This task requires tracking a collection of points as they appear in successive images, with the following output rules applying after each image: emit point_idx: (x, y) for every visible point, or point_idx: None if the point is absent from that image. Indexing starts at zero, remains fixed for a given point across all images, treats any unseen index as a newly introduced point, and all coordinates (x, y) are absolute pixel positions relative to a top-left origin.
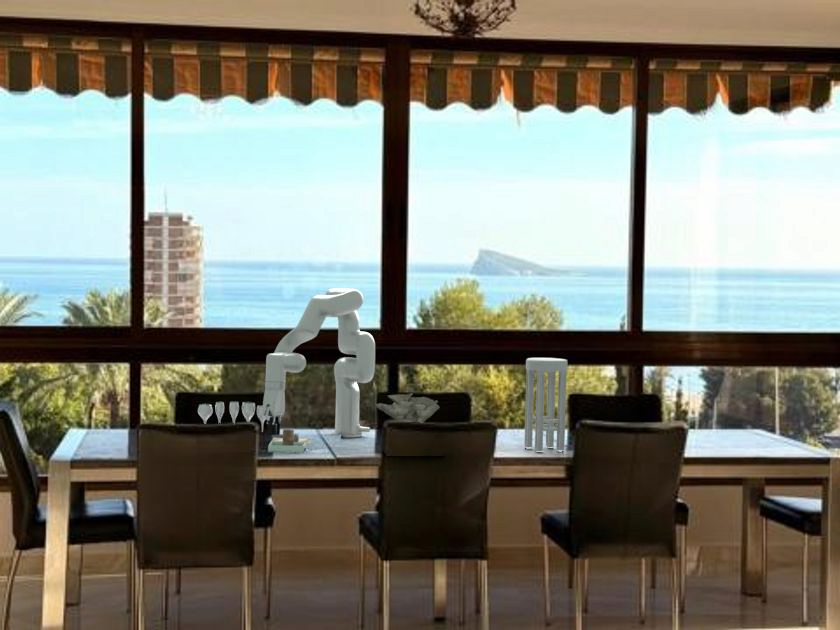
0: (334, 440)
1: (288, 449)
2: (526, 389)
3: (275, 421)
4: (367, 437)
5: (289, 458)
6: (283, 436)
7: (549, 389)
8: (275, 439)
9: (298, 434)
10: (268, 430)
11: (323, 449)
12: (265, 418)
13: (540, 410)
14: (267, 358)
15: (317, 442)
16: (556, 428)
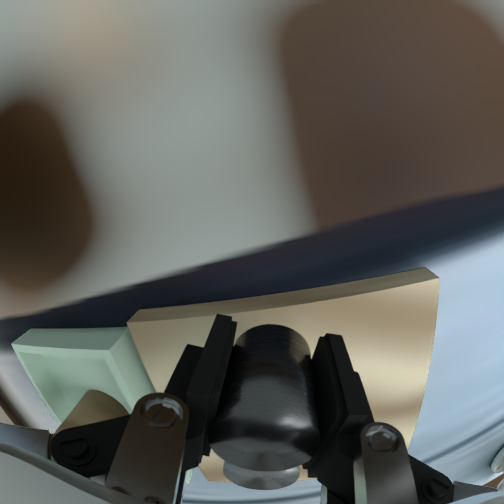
0: (456, 462)
1: (64, 411)
2: None
3: (336, 467)
4: (490, 476)
5: (9, 395)
6: (54, 433)
7: None
8: (361, 316)
9: (258, 489)
10: (182, 353)
11: (217, 492)
12: (4, 426)
13: None
14: None
15: (412, 452)
16: None
